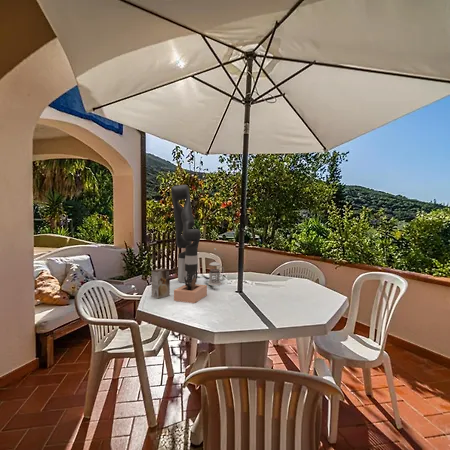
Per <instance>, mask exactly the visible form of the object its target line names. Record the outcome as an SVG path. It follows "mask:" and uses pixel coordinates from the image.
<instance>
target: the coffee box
mask: <svg viewBox="0 0 450 450" xmlns="http://www.w3.org/2000/svg"><path fill="white" fill-rule="evenodd" d="M170 272H171V270H170V269H169V268H164V267H163V268H157V269H152V270H151V272H150V273H151V298H154V299H163V298H166V297H169V296H170V294H171V293H170V292H171V289H170V287H171V285H170V284H171V283H170V282H171V280H170V279H171V278H170V277H171V276H170V275H171V273H170Z"/></svg>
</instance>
